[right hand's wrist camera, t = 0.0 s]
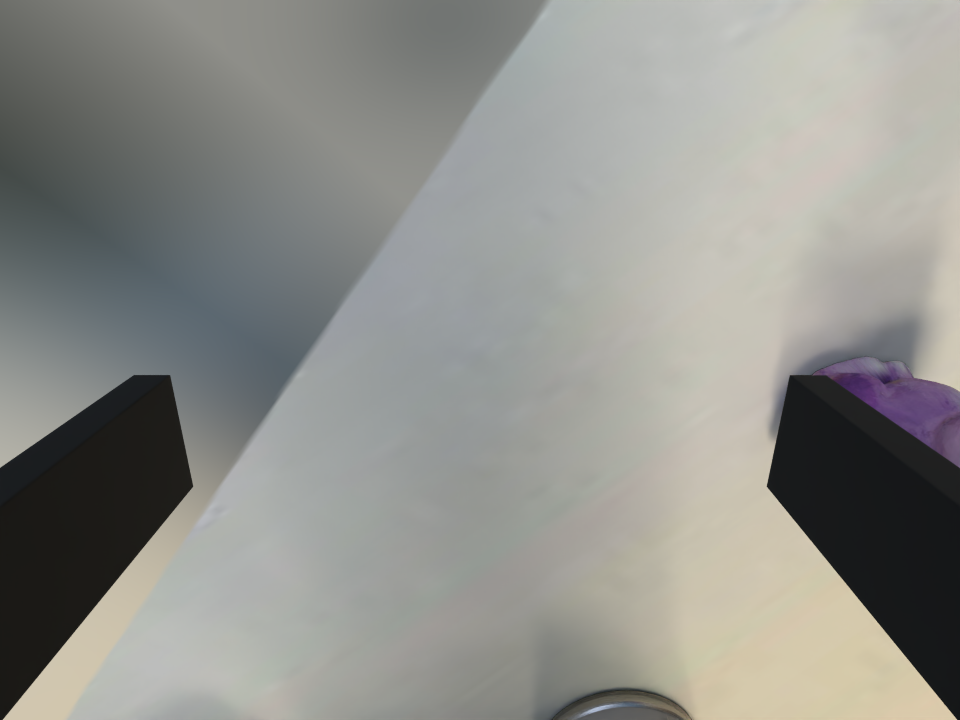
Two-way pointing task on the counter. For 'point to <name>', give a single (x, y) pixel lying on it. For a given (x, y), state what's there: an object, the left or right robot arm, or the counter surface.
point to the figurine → (905, 400)
